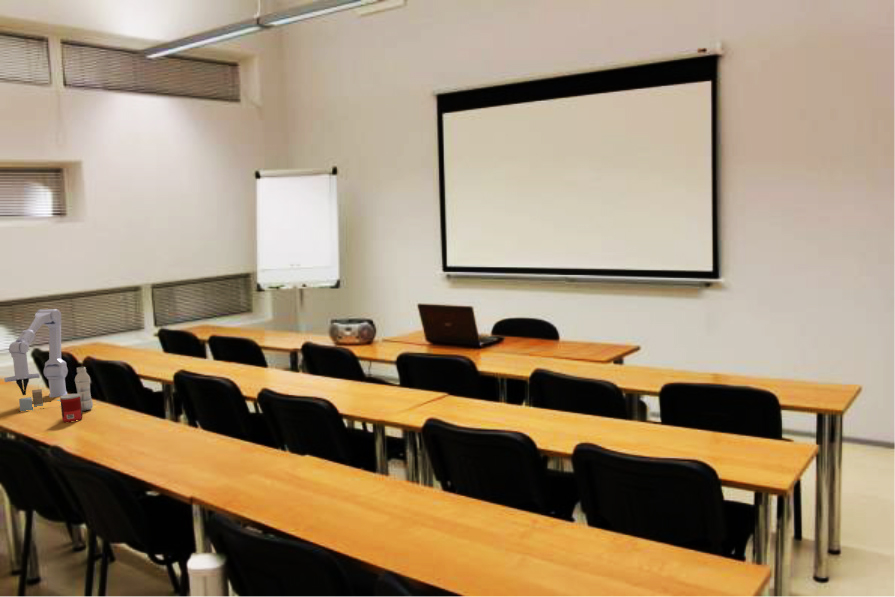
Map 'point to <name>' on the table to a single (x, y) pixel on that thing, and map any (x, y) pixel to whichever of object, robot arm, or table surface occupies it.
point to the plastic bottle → (83, 388)
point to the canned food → (71, 407)
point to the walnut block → (37, 397)
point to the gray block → (25, 404)
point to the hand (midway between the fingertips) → (24, 394)
